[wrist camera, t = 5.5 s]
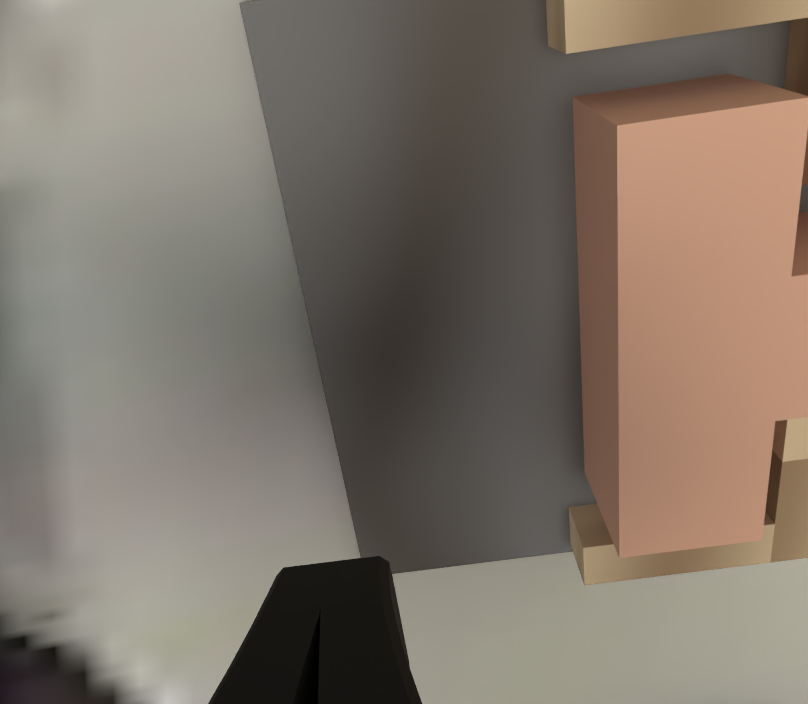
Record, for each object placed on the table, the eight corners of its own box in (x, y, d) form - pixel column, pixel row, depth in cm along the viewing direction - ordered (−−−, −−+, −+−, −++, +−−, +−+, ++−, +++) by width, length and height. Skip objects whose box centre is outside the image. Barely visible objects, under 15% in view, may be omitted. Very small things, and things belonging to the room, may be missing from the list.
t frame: (1303, -164, 13) (1449, -185, 11) (1078, 474, 19) (1148, 525, 18) (244, 2, 14) (223, 6, 12) (365, 563, 20) (363, 621, 18)
